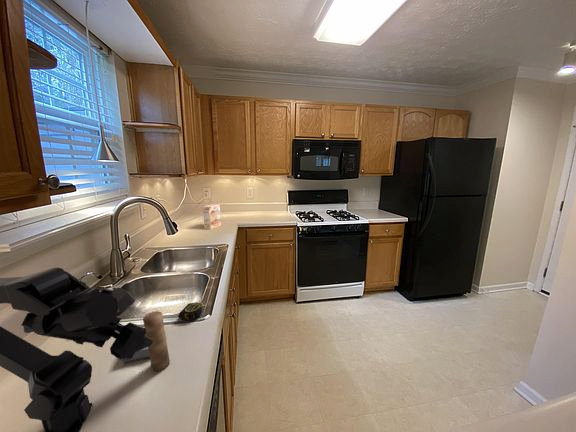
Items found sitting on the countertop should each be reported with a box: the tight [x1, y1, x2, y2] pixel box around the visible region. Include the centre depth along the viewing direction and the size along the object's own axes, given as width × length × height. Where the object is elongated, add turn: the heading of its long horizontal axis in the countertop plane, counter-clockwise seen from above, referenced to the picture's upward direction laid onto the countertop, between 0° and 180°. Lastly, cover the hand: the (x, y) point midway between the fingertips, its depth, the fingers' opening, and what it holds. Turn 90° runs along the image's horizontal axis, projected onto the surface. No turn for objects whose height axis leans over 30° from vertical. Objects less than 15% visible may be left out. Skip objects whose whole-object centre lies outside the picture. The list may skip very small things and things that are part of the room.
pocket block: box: [122, 334, 150, 364], centre depth 71 cm, size 8×8×3 cm
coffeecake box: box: [202, 203, 222, 230], centre depth 209 cm, size 15×7×20 cm, turn 159°
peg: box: [142, 310, 171, 373], centre depth 64 cm, size 4×4×15 cm
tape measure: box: [177, 301, 203, 321], centre depth 87 cm, size 7×7×4 cm
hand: (140, 336), depth 60 cm, fingers open, 9 cm apart
